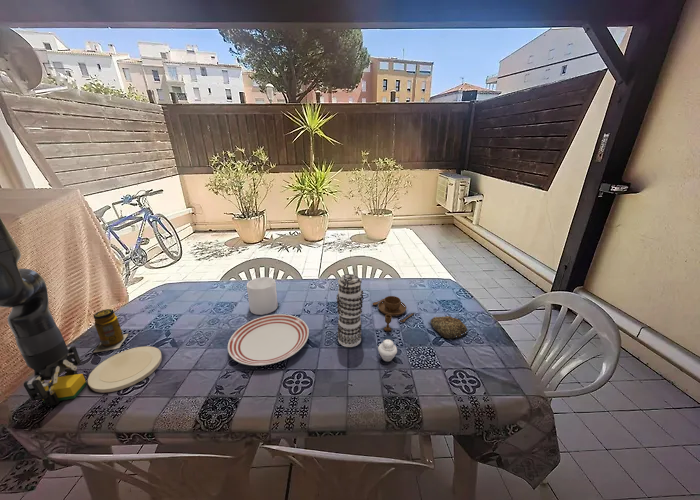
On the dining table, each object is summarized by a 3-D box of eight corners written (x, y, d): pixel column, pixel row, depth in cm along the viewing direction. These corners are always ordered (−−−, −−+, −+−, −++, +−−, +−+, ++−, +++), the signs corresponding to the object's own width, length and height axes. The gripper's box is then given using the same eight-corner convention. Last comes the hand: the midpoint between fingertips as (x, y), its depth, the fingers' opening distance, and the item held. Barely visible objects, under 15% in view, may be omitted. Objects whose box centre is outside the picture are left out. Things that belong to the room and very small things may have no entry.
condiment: (128, 333, 101) (119, 305, 97) (119, 348, 93) (109, 318, 89) (104, 338, 99) (94, 309, 94) (93, 353, 91) (81, 323, 87)
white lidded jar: (398, 354, 91) (399, 337, 89) (394, 367, 86) (395, 349, 83) (380, 349, 93) (381, 332, 91) (375, 361, 88) (376, 344, 85)
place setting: (417, 312, 115) (418, 300, 113) (389, 333, 102) (390, 319, 100) (384, 297, 127) (385, 286, 125) (355, 315, 113) (355, 302, 111)
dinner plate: (236, 385, 79) (234, 376, 77) (223, 334, 101) (222, 327, 100) (322, 352, 92) (321, 344, 91) (294, 313, 114) (293, 306, 113)
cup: (246, 305, 120) (243, 281, 116) (272, 298, 126) (270, 274, 122) (254, 318, 111) (250, 292, 107) (281, 309, 117) (279, 284, 113)
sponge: (44, 403, 73) (38, 391, 72) (58, 388, 77) (53, 377, 76) (74, 398, 74) (69, 387, 73) (87, 384, 79) (82, 373, 78)
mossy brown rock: (442, 341, 98) (443, 329, 96) (426, 321, 109) (427, 310, 107) (473, 336, 100) (476, 325, 98) (455, 317, 111) (457, 307, 110)
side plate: (72, 397, 75) (71, 394, 74) (111, 353, 91) (110, 350, 91) (146, 386, 78) (145, 383, 78) (170, 345, 95) (170, 342, 94)
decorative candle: (367, 342, 97) (369, 279, 89) (345, 351, 92) (345, 285, 84) (353, 328, 104) (354, 269, 96) (332, 336, 100) (331, 275, 91)
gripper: (47, 329, 76) (67, 375, 81) (-3, 366, 63) (25, 418, 68) (79, 325, 77) (97, 371, 83) (36, 361, 64) (61, 412, 70)
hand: (64, 392), depth 76 cm, fingers open, 7 cm apart
